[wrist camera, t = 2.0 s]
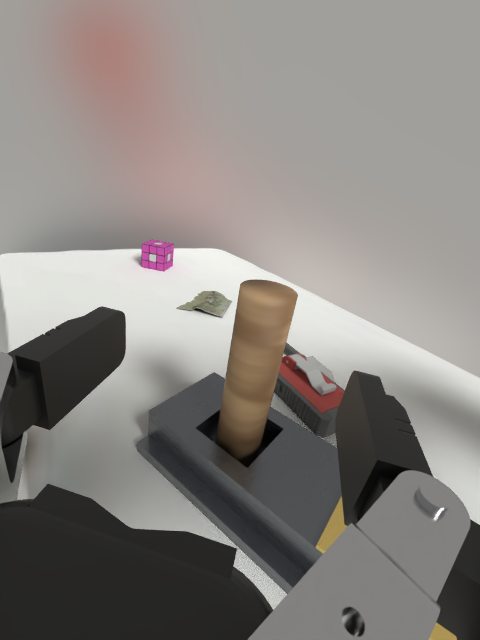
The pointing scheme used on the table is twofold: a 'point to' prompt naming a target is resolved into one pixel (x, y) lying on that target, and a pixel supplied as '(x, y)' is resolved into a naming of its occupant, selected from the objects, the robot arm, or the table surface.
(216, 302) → the topographic map
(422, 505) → the robot arm
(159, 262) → the puzzle toy
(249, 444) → the walnut peg
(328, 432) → the walkie-talkie
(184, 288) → the table surface
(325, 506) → the socket rail
